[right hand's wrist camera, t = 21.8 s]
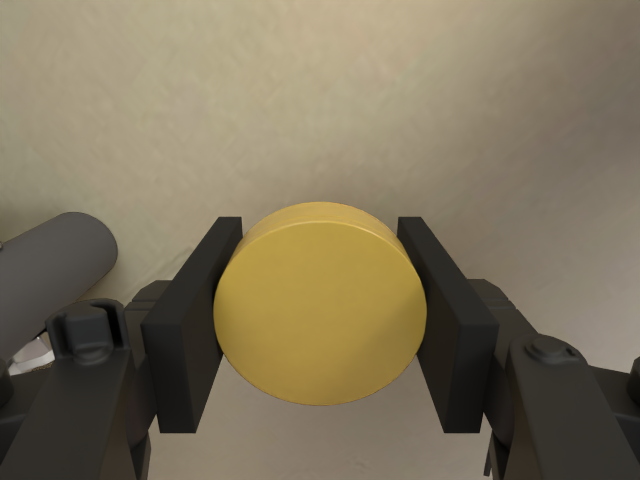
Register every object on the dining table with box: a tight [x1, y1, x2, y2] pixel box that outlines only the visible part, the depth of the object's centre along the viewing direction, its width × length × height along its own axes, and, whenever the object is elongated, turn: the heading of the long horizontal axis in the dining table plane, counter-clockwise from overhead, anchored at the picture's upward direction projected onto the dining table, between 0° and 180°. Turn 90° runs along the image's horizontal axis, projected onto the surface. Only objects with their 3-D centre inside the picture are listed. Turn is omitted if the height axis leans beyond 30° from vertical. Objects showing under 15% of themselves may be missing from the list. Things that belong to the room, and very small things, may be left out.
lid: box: [213, 202, 427, 406], centre depth 11 cm, size 5×5×2 cm
